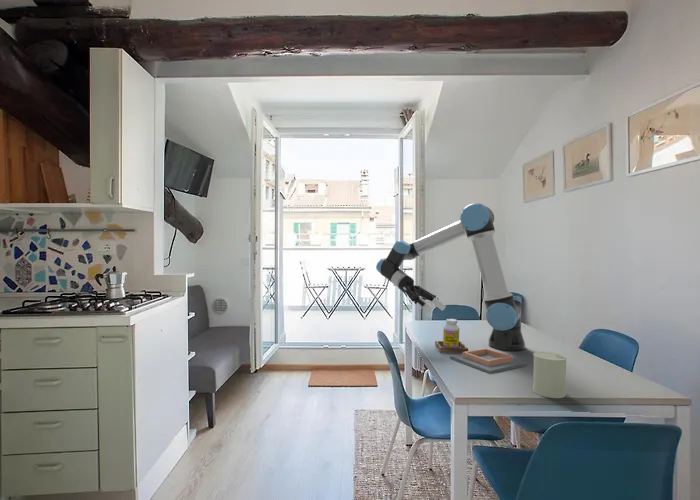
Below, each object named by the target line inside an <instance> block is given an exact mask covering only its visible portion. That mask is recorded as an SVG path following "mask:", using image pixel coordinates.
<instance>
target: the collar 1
mask: <svg viewBox="0 0 700 500" xmlns="http://www.w3.org/2000/svg"><path fill="white" fill-rule="evenodd" d="M434 341H435V342H434V345H435V347H436V349H437V350H438V351H439V353H441V354H442V353H443V354H463V352H466V351H469V348H468V347H467V346H466V344H464V343H463V341H460V340H459V348H443V340H434Z"/></svg>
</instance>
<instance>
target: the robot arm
mask: <svg viewBox="0 0 700 500" xmlns="http://www.w3.org/2000/svg"><path fill="white" fill-rule="evenodd" d="M459 217H460V220H458V221H455V222H454V223H452V224H450V225H446V226H445V227H443V228H441V229H439V230H436V231H434V232H431V233H430V234H428V235H425V236H423V237H420V238H419V239H417V240H414V241H412V242H409V243H408V242H406V241H405V240H402V239H397V240H396V242H395V243H394V244H393V246H392V248H391V249H390V251H389V253H388V255H387V256H386V257H383V258H381V259H380V260H379V261H378V262H377V263H376V268H375V269H376V270H377V272H378V273H380V275H382V276H383V277H384V278H385V279H387V280H388V281H389V282H390V283H392V284H393V286H394V287H396V288H397V289H399V290H400V291H401V292H403V293H405V294H406V296H408V298H409V299H410V300H411V301H412V302H413V304H415V305H417V304H418V305H420V307H422V308H423V309H424V310H426V312H428V313H430V312H431V311H432V309H433V307H434V306H435V307H437V309H439V310H441V311H442V312H443V311H445V308H446V307H447V305H445V303H443V302H441V301H440V300H439V299H438V298H437V295H436V294H434V293H432V292H430V291H427V290H426V288H423V287H421V286H420V285H417V284H416V285H415V280H414V279H413V278H412V277H411V276H410V275H408V274H407V273H406V272H404V271H403V270H402V269H401V268H400V267H401V265H402V264H403V262H404V261H411V260H415V259H416V258H417V257H419V256H421V255H423V254H427V253H428V252H431V251H433V250H435V249H439V247H443V246H445V245H446V244H449V243H451V242H453V241H456V240H458V239H461V238H463V237H465V236H466V237H467V238H466V239H468V240H470V241H471V243H472V247H473V249H474V250H473V251H474V253H475V258H476V262H477V264H478V268H479V269H478V270H479V271H480V276H481V280H482V284H483V287H484V291H485V297H484V299H483V301H484V306H485V310H486V311H485V318H486V321H487V323H488V325H490V327H492V331H491V333H490V334H489V338H488V346H490V347H491V348H493V349H496V350H497V349H498V350H501V351H510V352H519V351H523V350H525V349H526V342H525V339H524V336H523V332H522V304H523V302H522V298H521V296H519V295H517V296H515V295H513V293H512V292H510V291H508V287H507V285H506V280H505V276H504V274H503V270H502V269H503V268H502V266H501V261H500V259H499V253H498V250H497V247H496V244H495V241H494V240H495V239H494V234H495V233H496V230H495V226H494V222H495V215H494V212H493V211H492V210H491V208H490V207H487V206H486V205H484V204H482V203H478V202H477V203H470V204H468V205H467V206H465V207H464V208H463V209H462V210H461V213H460V215H459ZM424 299H425V300H424ZM426 300H428V301H430V302H431V304H430V303H428V302H427V301H426ZM432 304H433V305H434V306H432Z"/></svg>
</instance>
